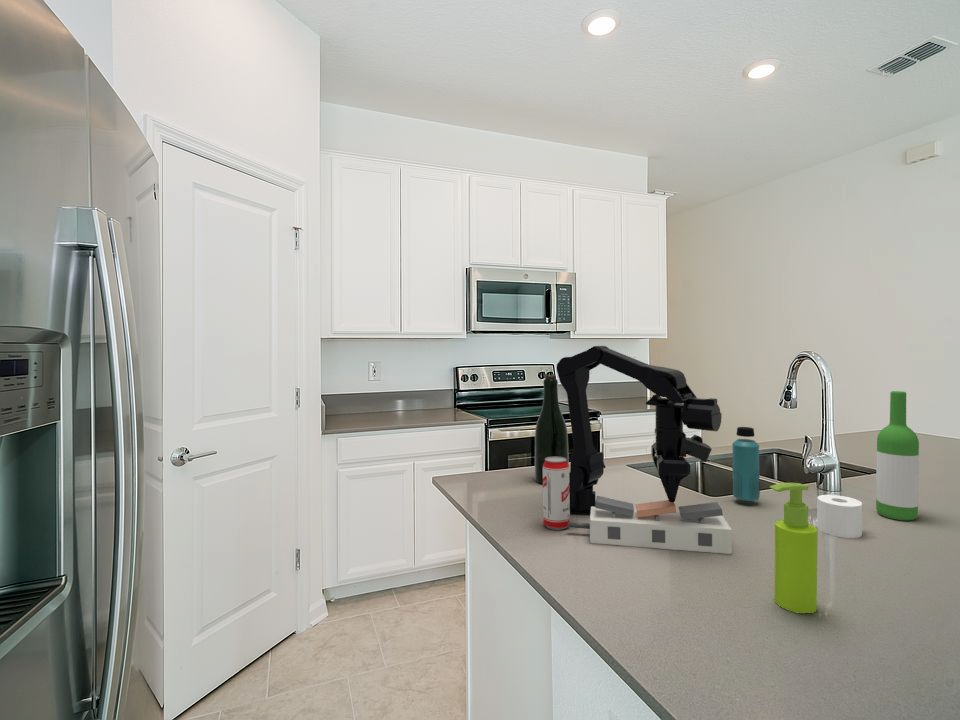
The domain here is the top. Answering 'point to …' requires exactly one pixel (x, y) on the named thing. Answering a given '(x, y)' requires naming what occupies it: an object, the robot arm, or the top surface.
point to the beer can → (556, 493)
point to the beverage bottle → (746, 466)
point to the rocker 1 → (614, 506)
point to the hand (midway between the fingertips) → (669, 495)
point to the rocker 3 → (700, 511)
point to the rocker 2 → (655, 508)
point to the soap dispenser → (795, 554)
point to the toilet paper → (839, 516)
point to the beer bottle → (550, 429)
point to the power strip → (659, 531)
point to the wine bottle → (897, 465)
